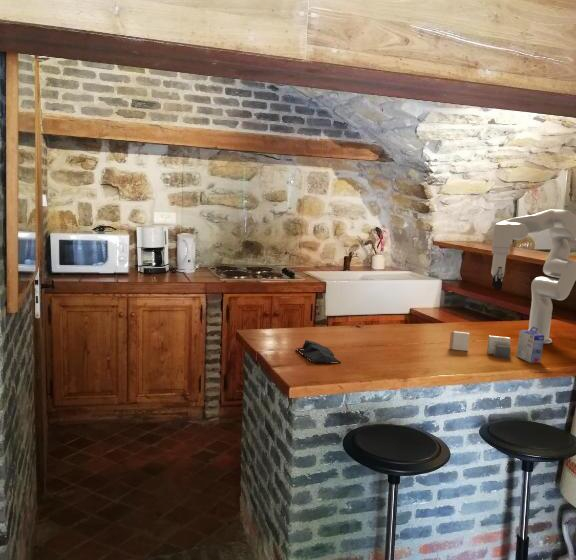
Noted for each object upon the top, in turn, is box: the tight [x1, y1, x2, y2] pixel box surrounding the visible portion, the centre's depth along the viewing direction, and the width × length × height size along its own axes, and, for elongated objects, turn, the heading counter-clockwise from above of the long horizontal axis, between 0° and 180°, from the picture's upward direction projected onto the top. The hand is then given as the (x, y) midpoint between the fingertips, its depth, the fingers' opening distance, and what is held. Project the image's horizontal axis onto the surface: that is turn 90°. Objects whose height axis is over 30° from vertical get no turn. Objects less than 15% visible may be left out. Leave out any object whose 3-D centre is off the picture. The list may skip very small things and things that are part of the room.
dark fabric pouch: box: [297, 339, 341, 364], centre depth 239 cm, size 15×22×5 cm
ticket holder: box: [486, 335, 512, 360], centre depth 252 cm, size 10×9×8 cm
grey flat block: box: [448, 330, 470, 352], centre depth 256 cm, size 2×8×8 cm, turn 75°
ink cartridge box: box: [515, 327, 544, 364], centre depth 245 cm, size 10×6×14 cm, turn 15°
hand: (496, 288), depth 257 cm, fingers open, 9 cm apart
